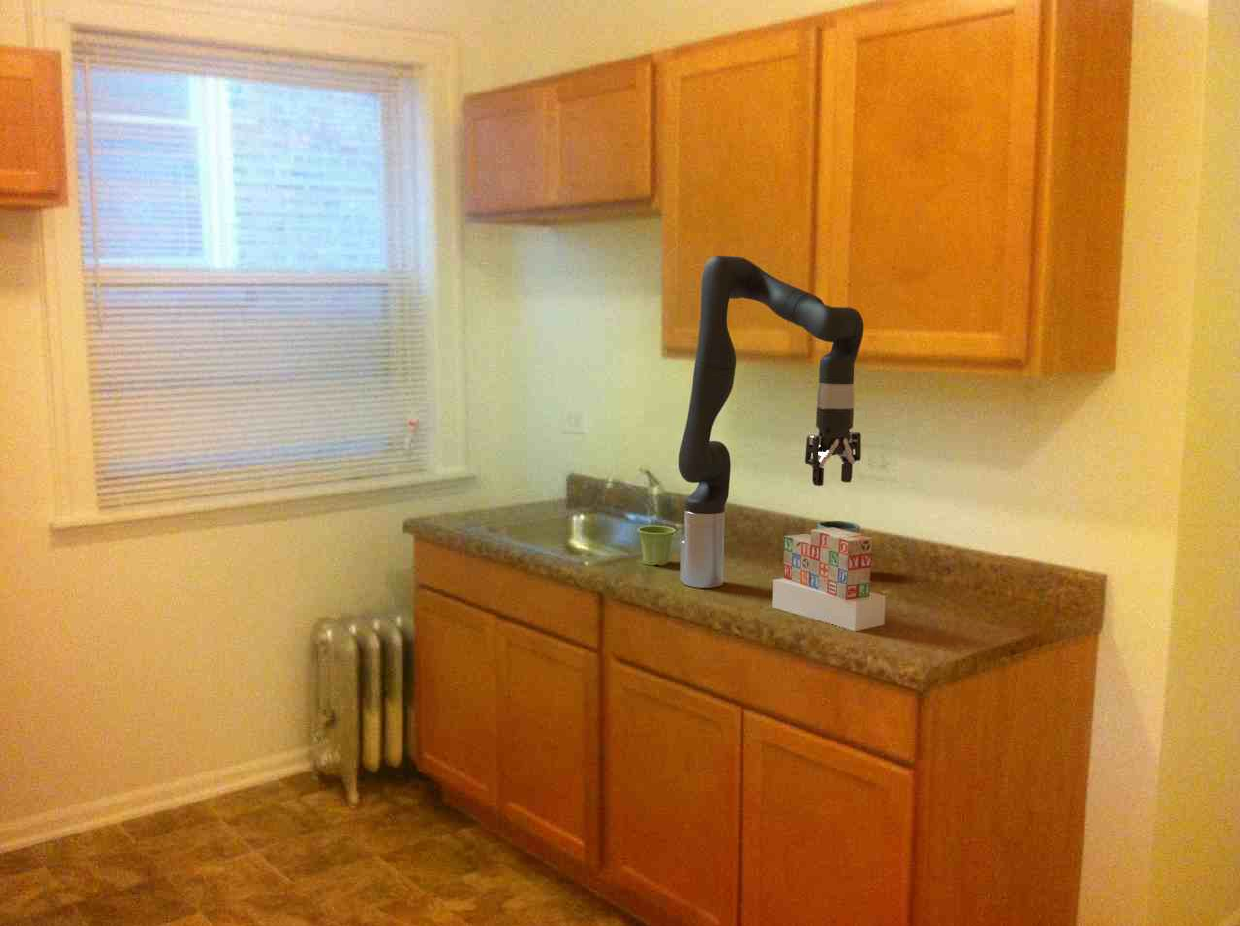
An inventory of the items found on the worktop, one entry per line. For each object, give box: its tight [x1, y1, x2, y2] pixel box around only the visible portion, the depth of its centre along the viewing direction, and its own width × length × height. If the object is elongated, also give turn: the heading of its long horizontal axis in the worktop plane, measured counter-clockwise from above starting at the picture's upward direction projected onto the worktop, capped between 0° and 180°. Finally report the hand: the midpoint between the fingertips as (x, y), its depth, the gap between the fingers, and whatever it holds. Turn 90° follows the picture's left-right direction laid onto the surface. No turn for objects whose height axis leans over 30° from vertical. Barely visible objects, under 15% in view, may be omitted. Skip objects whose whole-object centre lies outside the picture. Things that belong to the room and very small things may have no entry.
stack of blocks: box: [782, 527, 873, 600], centre depth 244 cm, size 21×6×12 cm, turn 29°
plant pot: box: [637, 525, 676, 567], centre depth 292 cm, size 9×9×9 cm
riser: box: [772, 577, 886, 632], centre depth 245 cm, size 23×9×6 cm, turn 38°
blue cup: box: [817, 520, 861, 534], centre depth 285 cm, size 10×10×12 cm
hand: (832, 483), depth 242 cm, fingers open, 8 cm apart
